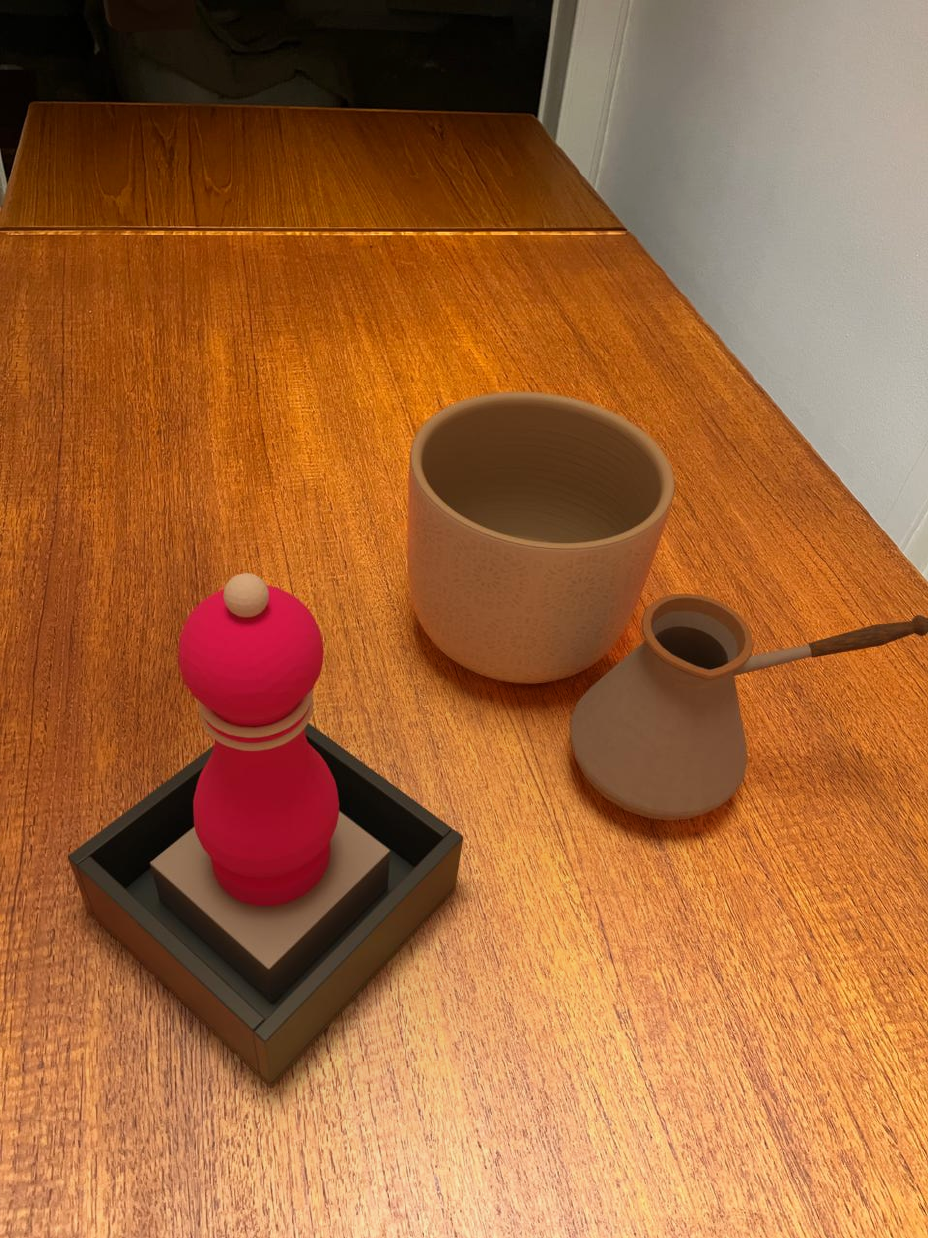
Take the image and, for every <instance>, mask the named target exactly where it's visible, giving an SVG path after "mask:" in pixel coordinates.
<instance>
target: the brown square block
mask: <svg viewBox="0 0 928 1238" xmlns="http://www.w3.org/2000/svg"><path fill="white" fill-rule="evenodd" d="M330 849H331V851H330V860H329V863H328V867H327V869H326V871H325V873H324V875H323V877H322V878H321V880H320V881H319V882H318V883H317V884H316V885H315V887H314V888H312V889H311V890H310V891H309V892H308V893H306V894H305V895H303V896H301V897H299V898H298V899H296V900H294V901H291V902H288V903H286V904H282V905H276V906H265V907H264V906H256V905H250V904H247V903H244V902H241V901H239V900H237V899H235V898H234V897H232V896H231V895H229V894H228V893H227V892H226V891H225V890H224V889H223V888H222V887H221V886H220V884H219V883H218V881H217V879H216V878H215V875H214V872H213V868H212V863H211V857H210V856H209V855H208V854H207V852H206V851H205V850H204V849H203V847H202V845H201V844H200V841H199V839H198V837H197V835H196V831H195V827H193V828H192V829H191V830H190V831H188V832H187V833H186V834H185V835H183V836H182V837H181V838H180V839H178V840H177V841H176V842H175V843H174V844H172V845H171V846H170V847H169V848H167V849H166V850H165V851H164V852H162V853H161V854H160V855H159V856H158V857H156V858H155V859H154V860H153V861H151V862H150V865H151V869H152V873H153V877H154V881H155V885H156V888H157V892H158V896H159V900H160V902H161V903H162V904H163V905H164V906H166V907H167V908H168V909H169V910H170V911H171V912H172V913H173V914H174V915H175V916H177V917H178V918H179V919H180V920H181V921H182V922H183V923H184V924H185V925H186V926H187V927H189V928H190V929H191V930H192V931H193V932H194V933H195V934H196V935H197V936H198V937H199V938H201V939H202V940H203V941H204V942H205V943H206V944H207V945H208V946H209V947H210V948H212V949H213V950H214V951H215V952H216V953H217V954H218V955H219V956H220V957H221V958H222V959H224V960H225V961H226V962H227V963H228V964H229V965H230V966H231V967H232V968H233V969H234V970H236V971H237V972H238V973H239V974H240V975H241V976H242V977H243V978H244V979H245V980H246V981H248V982H249V983H250V984H251V985H252V986H253V987H254V988H255V989H256V990H257V991H259V992H260V993H261V994H262V995H263V996H264V997H265V998H266V999H267V1000H268V1001H269V1002H271V1003H272V1004H274V1003H275V1002H276V1001H277V1000H278V999H279V998H280V997H281V996H282V995H283V994H284V993H285V992H286V991H287V990H288V989H289V988H290V987H291V985H292V984H293V983H294V982H295V981H296V980H297V979H298V978H299V977H300V976H301V975H302V974H303V973H304V972H305V971H306V970H307V969H308V968H309V967H310V966H311V965H312V964H313V963H314V962H315V961H316V960H317V959H318V958H319V957H320V956H321V955H322V954H323V953H324V952H325V951H326V950H327V949H328V948H329V947H330V946H331V945H332V944H333V943H334V942H335V941H336V940H337V939H338V938H339V937H340V936H341V935H342V934H343V933H344V932H345V931H346V930H347V929H348V928H349V927H350V926H351V925H352V924H353V923H354V922H355V921H356V920H357V919H358V918H359V917H360V916H361V915H362V914H363V913H364V912H365V911H366V910H367V909H368V908H369V907H370V906H371V905H372V904H373V903H374V902H375V901H376V900H377V899H378V898H379V897H380V896H381V894H382V893H383V892H384V891H385V890H386V889H387V888H388V878H389V862H390V850H389V849H388V848H387V847H385V846H384V845H383V844H381V843H380V842H379V841H377V840H376V839H375V838H374V837H372V836H371V835H370V834H368V833H367V832H366V831H364V830H363V829H362V828H361V827H359V826H358V825H357V824H355V823H354V822H353V821H352V820H350V819H349V818H348V817H346V816H345V815H344V814H342V813H341V812H340V811H339V817H338V822H337V826H336V829H335V831H334V834H333V836H332V838H331V839H330Z"/></svg>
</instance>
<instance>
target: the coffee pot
mask: <svg viewBox="0 0 928 1238" xmlns="http://www.w3.org/2000/svg"><path fill="white" fill-rule="evenodd" d="M640 623H641V624H640V625H641V635H642V636H643V639H644V640H643V641H642V642H641V643H640V644H639V645H638V646H637V647H635V648H634V649H633V650H632V651H631V652H630V653H628V654H627V655H626V656H625V657H624V658H622V660H621V661H619V662H618V663H617V664H615V666H614V667H612V668H611V669H610V670H609V671H607V672H606V673H605V674H604V675H603V676H601V678H599V679H598V680H597V681H596V682H595V683H594V684H593V685H591V686H590V687H589V688H588V689H587V690H586V691H585V693H584V694H582V696H581V697H580V699H578V701H577V703H576V704H575V707H574V709H573V712H572V715H571V717H570V720H569V722H570V723H569V741H570V745H571V749H572V751H573V755H574V758H575V761H576V764H577V765H578V767H579V769H580V770H581V772H582V774H583V775H584V777H585V779H586V780H587V781H588V783H589V784H590V785H591V786H592V787H593V788H594V789H595V790H596V791H597V792H598V793H599V794H601V796H602V797H604V799H606V800H608V801H610V802H611V803H612V804H614V805H616V806H618V807H619V808H621V809H623V810H624V811H627V812H630V813H633V814H635V815H639V816H641V817H644V818H647V819H653V820H654V819H655V820H663V821H670V822H671V821H678V820H679V821H680V820H690V819H691V820H692V819H693V818H696V817H699V816H702V815H705V814H707V813H710V812H712V811H714V810H716V809H718V808H720V806H722V805H724V804H725V803H726V802H727V801H729V800H730V799H731V798H733V796H735V794H736V792H737V791H738V789H739V788H740V786H741V785H742V783H743V781H744V780H745V777H746V772H747V766H748V761H749V755H748V749H747V743H746V742H747V741H746V736H745V731H744V725H743V724H744V723H743V718H742V712H741V707H740V702H739V696H738V690H737V685H736V679H735V677H736V676H741V675H744V674H749V673H752V672H756V671H760V670H763V669H768V668H773V667H776V666H779V665H785V664H789V663H793V662H796V661H800V660H804V659H807V658H819V657H824V656H830V655H835V654H842V653H847V652H854V651H859V650H865V649H871V648H876V647H882V646H884V645H887V644H889V643H892V642H894V641H895V642H896V641H897V640H900V639H903V638H905V637H908V636H911V635H913V634H915V635H917V636H920V637H924V636H926V635H927V634H928V617H926V616H923V615H921V614H917V615H915V616H913V618H912V619H911V621H909V620H908V621H898V622H890V623H889V622H888V623H876V624H872V625H869V626H865V627H861V628H858V629H854V630H851V631H846V632H844V633H841V634H837V635H833V636H829V637H825V638H822V639H819V640H815V641H812V642H808V644H804V645H799V646H794V647H790V648H784V649H778V650H773V651H770V652H764V653H760V654H755V655H752V654H753V649H754V639H753V634H752V631H751V629H750V628H749V625H748V624H747V622H746V621H745V620H744V619H743V617H741V615H740V614H739V613H738V612H736V611H735V610H734V609H733V608H731V607H730V606H728V605H726V604H725V603H722V602H721V601H718V600H716V599H715V598H711V597H708V596H705V595H702V594H695V593H688V592H687V593H672V594H668V595H666V596H665V595H664V596H662V597H660V598H658V599H657V600H655V601H653V602H651V604H650V605H649V606H648V607H647V608H646V609H645V610H644V612H643V615H642V618H641V621H640Z"/></svg>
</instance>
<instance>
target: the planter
mask: <svg viewBox="0 0 928 1238" xmlns="http://www.w3.org/2000/svg"><path fill="white" fill-rule="evenodd" d="M407 483H408V486H407V525H406V526H407V527H406V528H407V530H406V564H407V567H406V569H407V578H408V579H407V580H408V587H409V594H410V597H411V598H410V600H411V603H412V607H413V609H414V612H415V615H416V618H417V620H418V622H419V624H420V626H421V627H422V629H423V631H424V632H425V634H426V635H427V636H428V638H429V640H431V642H432V643H433V644H434V645H435V646H436V647H437V648H438V649H439V650H440V651H441V652H442V653H443V654H444V655H446V657H448V658H450V660H452V661H454V662H455V663H457V664H458V665H459V666H462V667H463V668H465V669H467V670H469V671H471V672H473V673H475V674H478V675H480V676H482V677H486V678H489V679H492V680H497V681H501V682H505V683H506V682H507V683H513V684H541V683H543V684H544V683H549V682H555V681H558V680H564V679H567V678H570V677H572V676H575V675H577V674H579V673H581V672H583V671H585V670H587V669H589V668H590V667H592V666H593V665H595V664H596V663H598V662H599V661H600V660H601V659H603V658H604V657H605V656H606V655H607V654H608V653H609V652H611V650H612V649H613V648H614V647H615V646H616V644H618V642H619V640H620V639H621V637H622V636H623V635H624V633H625V631H626V630H627V627H628V625H629V623H630V621H631V620H632V618H633V615H634V614H635V611H636V609H637V606H638V604H639V601H640V599H641V597H642V594H643V591H644V589H645V586H646V583H647V580H648V578H649V575H650V571H651V568H652V565H653V562H654V559H655V556H656V554H657V550H658V547H659V545H660V541H661V539H662V535H663V533H664V530H665V527H666V523H667V521H668V518H669V515H670V511H671V507H672V504H673V500H674V497H675V496H674V495H675V489H676V481H675V474H674V471H673V468H672V465H671V463H670V461H669V459H668V457H667V455H666V454H665V452H664V451H663V450H662V448H661V447H660V446H659V444H657V442H656V441H655V440H654V439H653V438H652V437H651V436H650V435H649V434H648V433H646V432H645V431H644V430H642V428H640V427H639V426H637V425H636V424H634V423H633V422H631V421H630V420H628V419H627V418H625V417H623V416H621V415H620V414H617V413H615V412H614V411H611V410H609V409H606V408H604V407H602V406H599V405H597V404H594V403H591V402H587V401H585V400H581V399H578V398H575V397H570V396H565V395H560V394H555V393H547V392H537V391H503V392H502V391H501V392H492V393H486V394H485V393H484V394H481V395H476V396H472V397H468V398H465V399H462V400H459V401H456V402H454V403H452V404H450V405H448V406H445V407H444V408H442V409H440V410H439V411H437V412H436V413H434V414H433V415H432V416H430V417H429V418H428V419H427V420H426V421H425V422H424V423H423V424H422V425H421V426H420V428H419V429H418V431H417V432H416V434H415V436H414V438H413V440H412V442H411V446H410V453H409V463H408V482H407Z"/></svg>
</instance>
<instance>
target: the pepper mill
mask: <svg viewBox="0 0 928 1238" xmlns="http://www.w3.org/2000/svg"><path fill="white" fill-rule="evenodd" d="M324 652H325V651H324V642H323V637H322V633H321V629H320V627H319V625H318V622H317V621H316V618H315V617H314V615H313V613H312V612H311V610H310V609H309V608H308V607H307V606H306V605H305V604H304V603H303V602H302V601H301V600H300V599H299V598H297V597H296V596H294V595H293V594H292V593H290V592H287V591H285V590H284V589H281V588H280V587H277V586H274V585H273V586H272V585H268V584H266V582H265V581H264V580H263V579H262V578H261V577H260V576H258V575H256V574H253V573H249V572H243V573H239V574H236V575H234V576H232V577H231V578H230V579H229V580H228V581H227V583H226V585H225V587H224V588H222V589H221V590H218V591H216V592H214V593H212V594H210V595H208V596H207V597H205V599H203V600H202V601H200V602H199V603H198V605H196V607H194V609H193V610H192V611H191V612H190V614H189V615H188V617H187V619H186V620H185V622H184V624H183V627H182V629H181V633H180V636H179V639H178V666H179V670H180V671H179V672H180V675H181V678H182V681H183V683H184V684H185V686H186V687H187V689H188V690H189V692H190V693H191V695H192V697H194V699H196V701H197V706H198V713H199V718H200V722H201V724H202V726H203V728H204V730H205V731H206V732H207V734H208V735H209V736H210V737H211V738H213V740H214V744H213V746H214V748H213V752H212V754H211V756H210V758H209V760H208V762H207V763H206V765H205V767H204V769H203V771H202V772H201V774H200V777H199V780H198V783H197V787H196V791H195V795H194V800H193V808H194V827H195V831H196V835H197V837H198V839H199V841H200V844H201V845H202V847H203V849H204V850H205V851H206V852H207V854H208V855H209V856H210V857H211V863H212V868H213V872H214V875H215V878H216V879H217V881H218V883H219V884H220V886H221V887H222V888H223V889H224V890H225V891H226V892H227V893H228V894H229V895H231V896H232V897H234V898H235V899H237V900H239V901H241V902H244V903H247V904H250V905H256V906H264V907H265V906H276V905H282V904H286V903H288V902H291V901H294V900H296V899H298V898H299V897H301V896H303V895H305V894H306V893H308V892H309V891H310V890H311V889H312V888H314V887H315V885H316V884H317V883H318V882H319V881H320V880H321V878H322V877H323V875H324V873H325V871H326V869H327V867H328V863H329V860H330V851H331V849H330V839H331V838H332V836H333V834H334V831H335V829H336V826H337V822H338V817H339V799H338V792H337V787H336V783H335V780H334V778H333V776H332V774H331V771H330V770H329V768H328V766H327V764H326V762H325V761H324V759H323V758H322V757H321V755H320V754H319V753H318V752H317V751H316V750H315V749H314V748H313V747H312V746H311V745H310V744H309V743H308V742H307V739H306V735H305V729H304V728H305V727H306V726H307V724H308V723H310V720H311V718H312V716H313V713H314V707H315V706H314V705H315V700H314V688H315V685H316V683H317V682H318V680H319V678H320V676H321V673H322V669H323V664H324Z"/></svg>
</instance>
